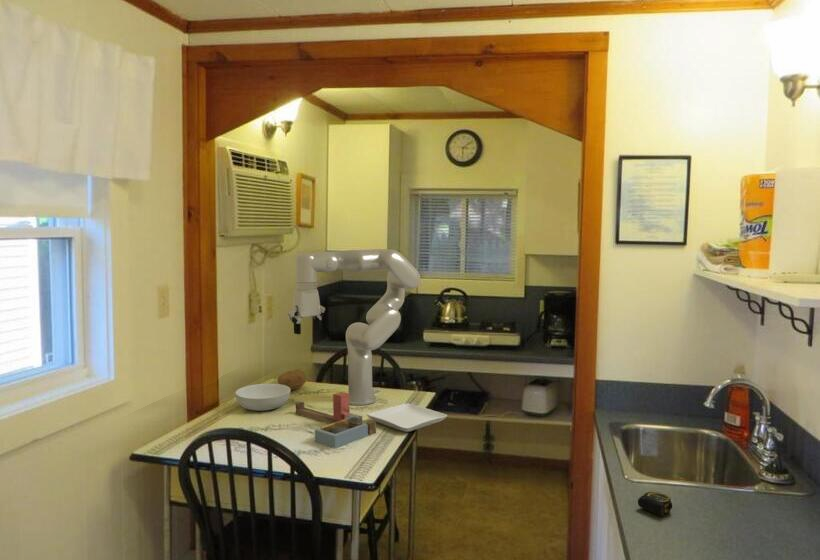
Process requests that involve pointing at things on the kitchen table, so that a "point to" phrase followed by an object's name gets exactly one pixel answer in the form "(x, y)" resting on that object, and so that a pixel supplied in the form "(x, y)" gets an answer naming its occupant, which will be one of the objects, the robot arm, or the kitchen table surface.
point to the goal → (341, 436)
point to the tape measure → (655, 503)
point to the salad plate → (406, 417)
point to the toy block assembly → (342, 413)
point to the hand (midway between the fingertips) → (307, 332)
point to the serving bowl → (263, 396)
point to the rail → (328, 417)
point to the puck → (338, 430)
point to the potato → (292, 379)
